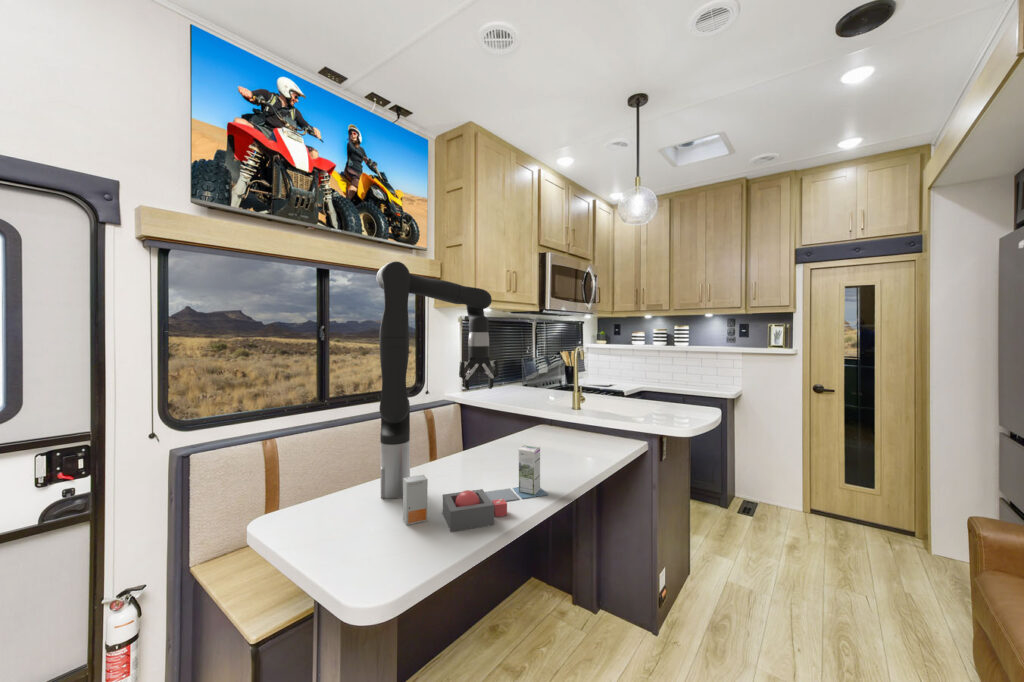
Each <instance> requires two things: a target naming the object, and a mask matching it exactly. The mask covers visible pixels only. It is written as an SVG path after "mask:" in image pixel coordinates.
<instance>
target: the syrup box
mask: <svg viewBox="0 0 1024 682" xmlns="http://www.w3.org/2000/svg"><path fill="white" fill-rule="evenodd" d="M518 487H519V492H521V493H526V494H532V495H535V494H536V493H537V492H538V491H539V490H540V487H541V446H535V445H525V444H524V445H522V446H521V447H519V448H518Z"/></svg>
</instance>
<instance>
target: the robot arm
mask: <svg viewBox="0 0 1024 682" xmlns="http://www.w3.org/2000/svg"><path fill="white" fill-rule="evenodd" d="M376 282H377V285H378V286H379V287H380V288H381V289H382V290H383V295H384V307H383V312H382V313H383V314H382V317H381V322H380V326H379V361H380V369H381V370H380V371H381V377H382V378H381V393H380V402H379V408H378V409H379V413H380V422H381V423H380V434H379V435H380V467H379V468H380V470H379V471H380V498H381V499H399V498H400V499H401V498H403V478H407V477H411V458H410V457H411V455H410V454H411V450H410V449H411V448H410V447H411V446H410V445H411V440H410V435H411V423H410V422H411V420H410V419H411V418H410V417H411V415H410V414H411V411H410V409H411V408H410V405H411V403H410V400H409V398H408V392H407V391H408V390H407V372H408V366H409V356H410V330H409V327H410V325H409V295H410V294H412V295H417V296H418V295H419V296H424V297H428V298H431V299H434V300H438V301H442V302H446V303H450V304H454V305H465V307H466V312H467V317H468V320H469V321H468V324H469V325H468V330H469V332H468V342H467V345H468V359H467V361H463V360H460V361H459V371H458V376H459V378H461V379H463V386H464V389H465V390H466V391H470V379H469V378H470V377H471V376H472V375H473V374H479V373H480V374H481V373H482V374H483V373H485V374H486V375H487V376H488V383H487V385H488V390H491V389H493V388H494V379H495V378H498V377H499V364H498V363H499V361H498V360H494V359H493V360H490V335H489V319H488V317H487V316H485V311H484V309H487V308H489V307H490V306H491V304H492V300H493V298H492V295H491V293H490V292H488V290H485V289H483V288H480V287H479V288H477V287H472V286H465V285H461V284H458V283H455V282H451V281H448V280H443V279H437V278H436V279H435V278H428V277H424V276H423V277H422V276H419V275H414V274H411V273H410V270H409V269H408V267H407V266H406V265H405V263H402V262H401V261H396V260H395V261H390V262H388V263H386V264H385V265H383V266H382V267H380V269H379V270H378V271H377V273H376ZM490 365H491V367H492V372H491V370H490V369H489V366H490ZM467 366H468V369H467V372H466V373H465V368H466V367H467Z"/></svg>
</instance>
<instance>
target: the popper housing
mask: <svg viewBox="0 0 1024 682" xmlns="http://www.w3.org/2000/svg"><path fill="white" fill-rule="evenodd" d="M471 491H473V492H475V493H476V494H477V495H478V497H479V500H480V504H476V505H469V506H462V507H456V506H455V501H456V498H457V496H458V495H459V494H460V493H461V492H462V491H459V492H451V493H446V494H445V493H444V494H442V515H443V517H444V520H445V522H446V525H447V526H448V527H447V528H448V530H449V531H450V533H454V532H459V531H465V530H471V528H473V529H477V528H478V527H479V528H482V527H484V526H485V527H489V526H488V525H490V526H494V525H495V518H499V517H498V516H500V517H505V516H504V515H507V516H508V502H507V501H505V500H504V499H498V500H492V502H491V500H490V499H489V498H488V496H487V495H486V493H485V492H486V491H484V489H483V488H482V489H475V490H473V489H472V490H471ZM494 515H495V516H494ZM485 527H484V528H485Z"/></svg>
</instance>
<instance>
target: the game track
mask: <svg viewBox="0 0 1024 682" xmlns="http://www.w3.org/2000/svg"><path fill="white" fill-rule="evenodd" d="M513 489H514V490H513ZM484 492H485V493H486V495H487V496H488V498H489V499H490V500H491V502H492V500H498V499H504V500H505V501H506V502H512V501H511V500H513V501H518V499H519V500H520V499H522V500H524V498H526V499H531V498H530V497H533V498H537V497H536V496H540V497H544V496H543V495H546V496H549V493H547V492H546V491H545V490H544V489H543V488H542V487H541V486H540V490H539V491H538V492H537V493H536V494H535V495H532V494H526V493H521V492H519V486H518V487H517V486H516V487H512V489H511V488H509V487H508V488H502V489H496V490H488V491H484ZM517 495H518V496H519V497H518V496H517Z"/></svg>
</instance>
